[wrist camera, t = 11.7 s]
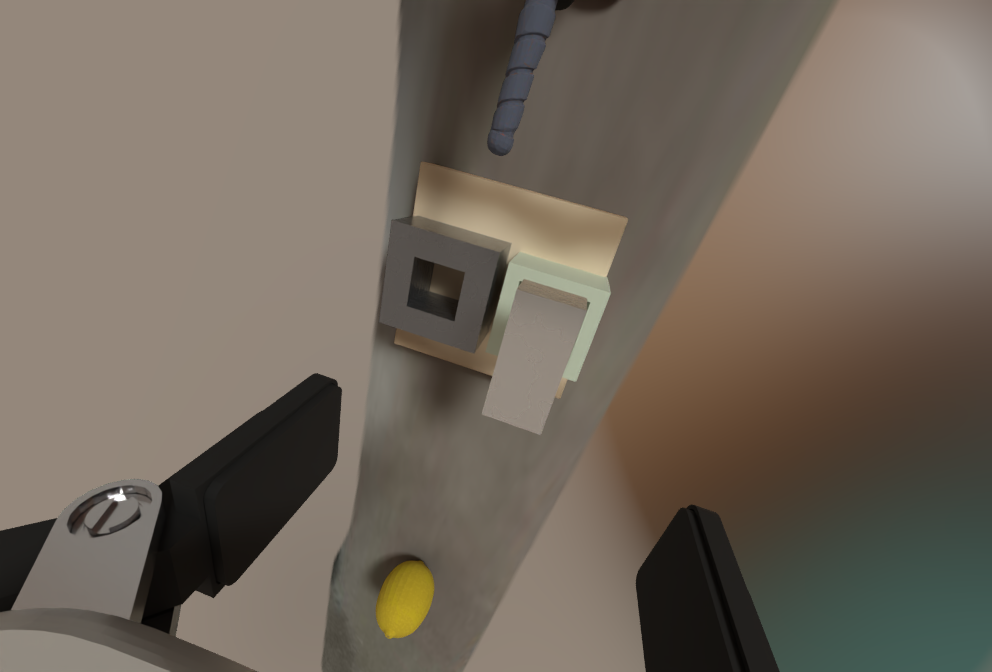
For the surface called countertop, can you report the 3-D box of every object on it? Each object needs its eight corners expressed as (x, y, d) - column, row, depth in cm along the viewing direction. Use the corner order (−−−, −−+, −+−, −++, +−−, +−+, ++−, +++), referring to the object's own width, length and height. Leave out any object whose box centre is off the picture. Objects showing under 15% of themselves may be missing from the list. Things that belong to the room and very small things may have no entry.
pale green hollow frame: (519, 251, 26) (509, 262, 22) (607, 277, 25) (610, 292, 22) (498, 331, 29) (485, 351, 25) (577, 356, 28) (575, 381, 24)
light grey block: (542, 252, 26) (516, 289, 17) (587, 265, 25) (587, 310, 16) (515, 341, 29) (481, 414, 20) (556, 354, 28) (540, 435, 19)
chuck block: (418, 215, 27) (391, 219, 23) (511, 243, 26) (499, 252, 22) (404, 305, 30) (378, 322, 26) (488, 332, 29) (474, 353, 25)
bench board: (432, 163, 27) (421, 161, 25) (625, 216, 26) (628, 219, 24) (404, 334, 33) (394, 343, 31) (561, 386, 31) (560, 398, 29)
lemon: (453, 567, 42) (425, 645, 35) (425, 585, 45) (394, 662, 38) (416, 536, 42) (381, 609, 35) (390, 556, 44) (352, 629, 37)
